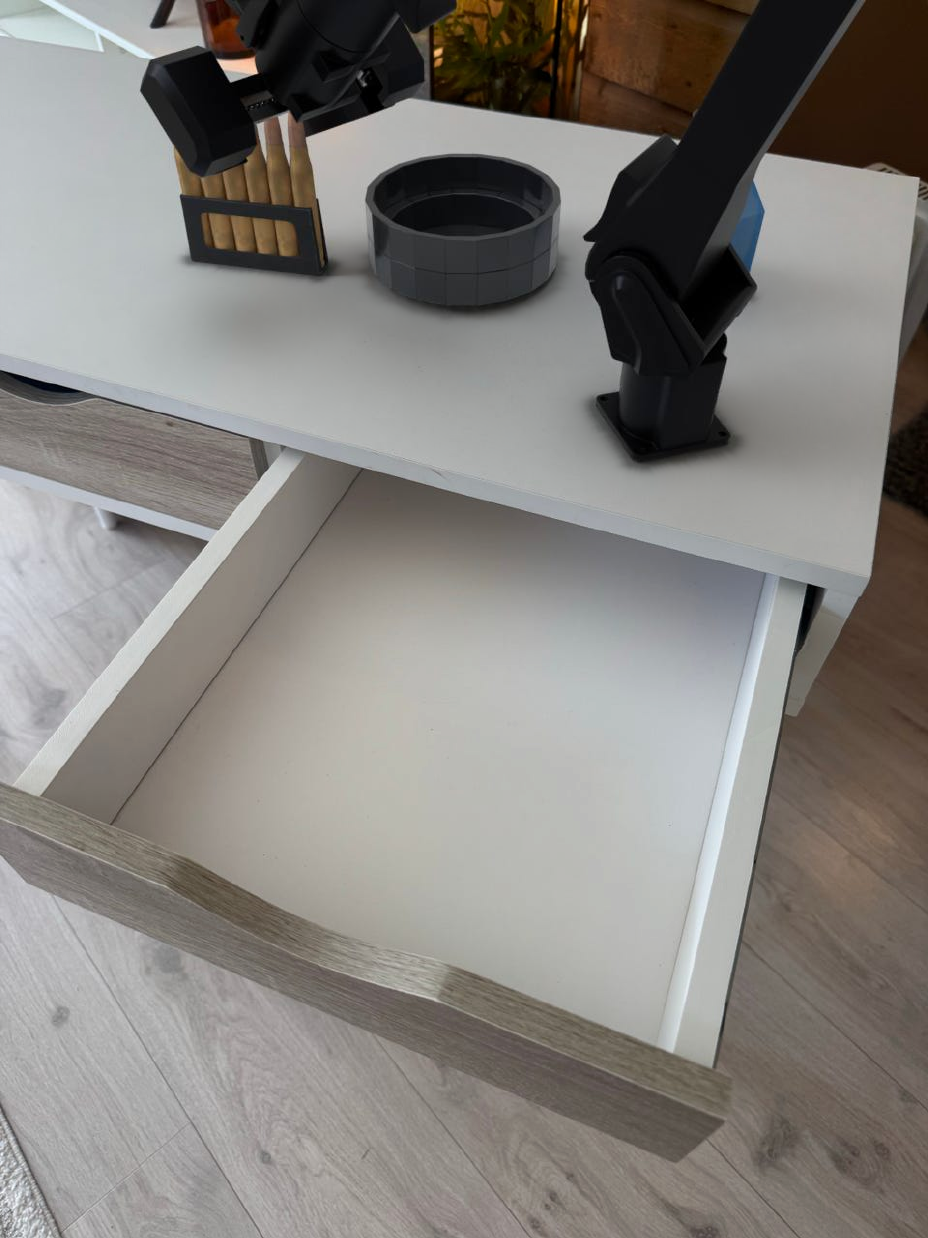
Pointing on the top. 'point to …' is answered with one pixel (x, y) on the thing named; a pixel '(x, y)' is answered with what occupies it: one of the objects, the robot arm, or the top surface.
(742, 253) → the perfume bottle
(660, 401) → the robot arm
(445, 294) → the bowl
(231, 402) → the top surface
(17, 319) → the top surface
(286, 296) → the top surface
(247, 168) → the ammunition clip
